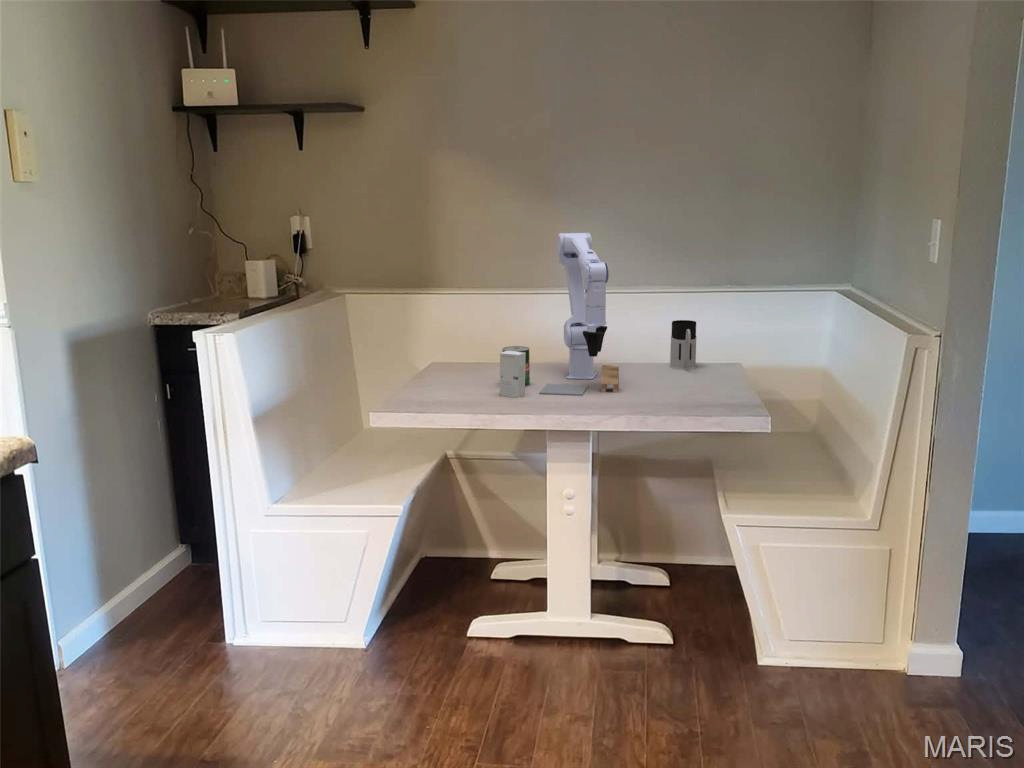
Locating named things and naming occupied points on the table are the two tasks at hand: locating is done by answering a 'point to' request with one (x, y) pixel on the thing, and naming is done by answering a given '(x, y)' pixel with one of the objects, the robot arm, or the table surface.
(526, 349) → the canned tomato
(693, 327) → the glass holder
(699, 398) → the table surface
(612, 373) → the notched wooden block
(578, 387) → the slate mat
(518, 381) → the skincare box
